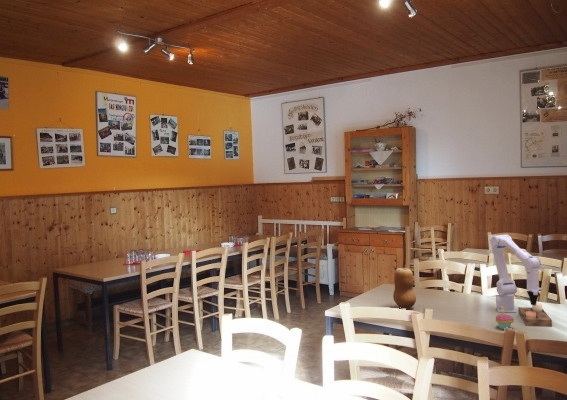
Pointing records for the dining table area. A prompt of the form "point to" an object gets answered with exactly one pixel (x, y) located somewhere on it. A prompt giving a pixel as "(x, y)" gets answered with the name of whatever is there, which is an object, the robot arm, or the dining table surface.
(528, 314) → the terracotta button
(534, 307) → the cream button
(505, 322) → the cupcake
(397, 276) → the butternut squash
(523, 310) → the wooden compartment tray
